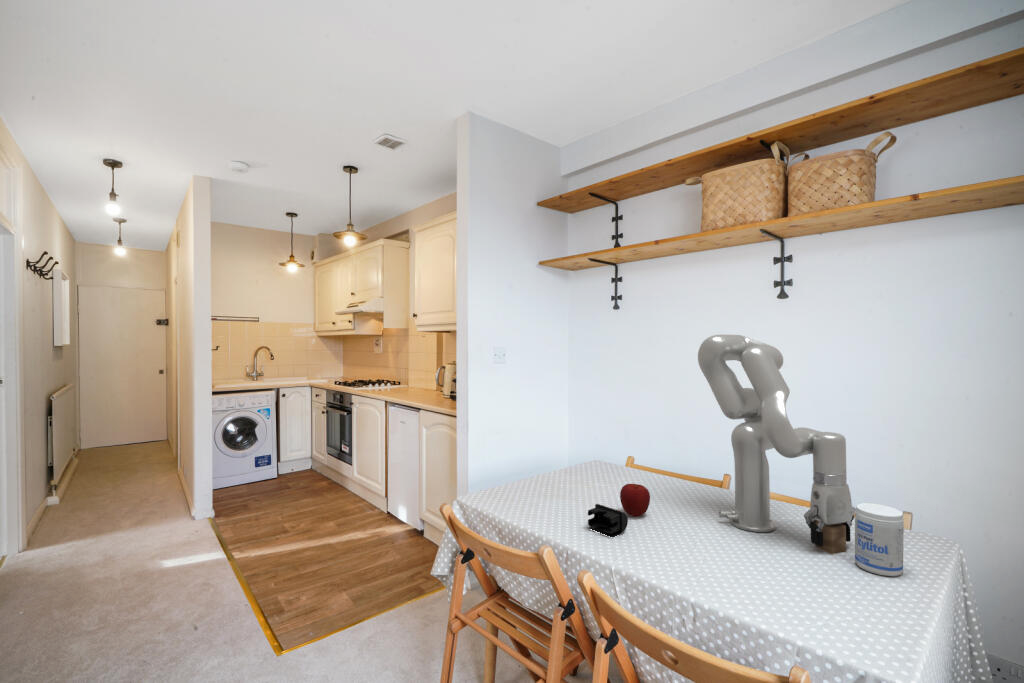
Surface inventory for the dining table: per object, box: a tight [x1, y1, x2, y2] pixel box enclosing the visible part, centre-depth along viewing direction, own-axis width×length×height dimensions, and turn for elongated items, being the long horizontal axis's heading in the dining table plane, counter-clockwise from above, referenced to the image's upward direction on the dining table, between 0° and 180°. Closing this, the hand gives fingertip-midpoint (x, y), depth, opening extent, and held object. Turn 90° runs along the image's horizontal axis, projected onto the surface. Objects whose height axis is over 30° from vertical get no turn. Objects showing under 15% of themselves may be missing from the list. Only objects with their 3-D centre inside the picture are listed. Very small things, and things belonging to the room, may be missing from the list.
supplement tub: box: [854, 502, 905, 577], centre depth 118 cm, size 10×10×15 cm
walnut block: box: [814, 522, 847, 555], centre depth 130 cm, size 5×5×7 cm
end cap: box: [587, 503, 629, 538], centre depth 144 cm, size 10×7×7 cm
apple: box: [619, 483, 651, 518], centre depth 156 cm, size 10×10×10 cm
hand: (830, 542), depth 129 cm, fingers open, 9 cm apart
